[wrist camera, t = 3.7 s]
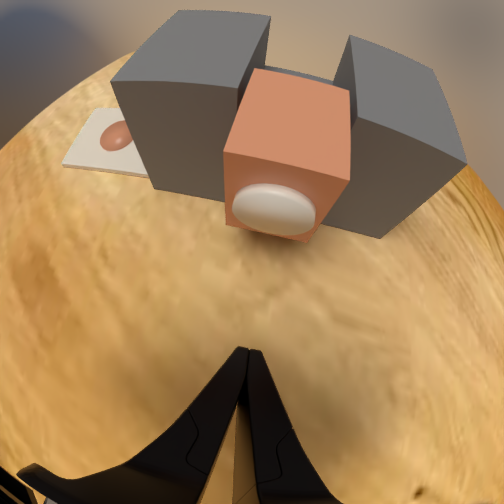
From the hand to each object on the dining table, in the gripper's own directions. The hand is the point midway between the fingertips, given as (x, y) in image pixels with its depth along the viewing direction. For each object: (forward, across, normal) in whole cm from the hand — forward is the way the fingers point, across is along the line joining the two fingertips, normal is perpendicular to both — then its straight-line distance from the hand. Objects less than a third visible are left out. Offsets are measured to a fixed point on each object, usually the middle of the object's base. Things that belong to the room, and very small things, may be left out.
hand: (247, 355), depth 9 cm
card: (+19, +16, -4) cm, 25 cm away
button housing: (+19, 0, -4) cm, 19 cm away
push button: (+11, 0, -3) cm, 11 cm away
